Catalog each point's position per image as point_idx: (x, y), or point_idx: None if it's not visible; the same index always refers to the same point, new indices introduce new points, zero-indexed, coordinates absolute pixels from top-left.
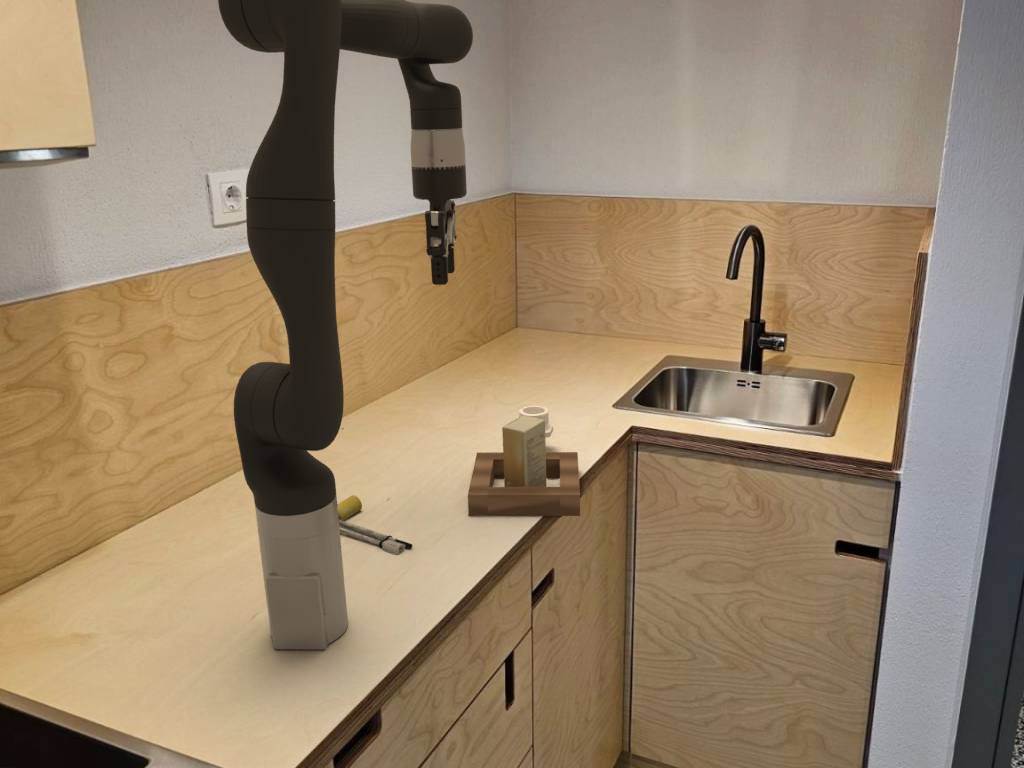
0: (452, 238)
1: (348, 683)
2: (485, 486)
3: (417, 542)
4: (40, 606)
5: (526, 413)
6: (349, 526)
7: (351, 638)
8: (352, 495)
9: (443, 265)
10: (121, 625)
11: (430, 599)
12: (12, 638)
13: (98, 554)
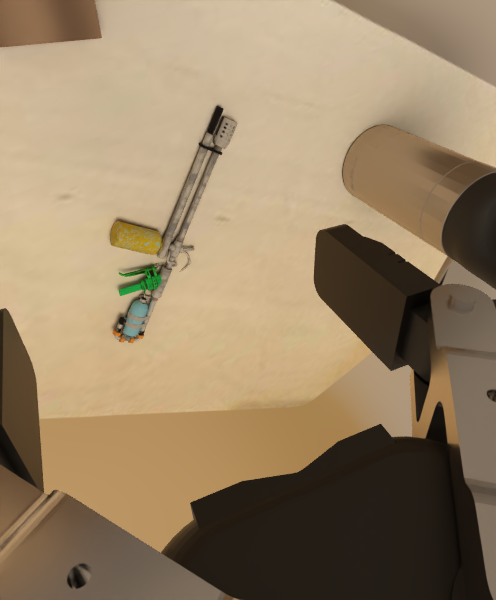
0: (40, 495)
1: (451, 91)
2: (50, 3)
3: (198, 103)
4: (323, 376)
5: None
6: (182, 211)
7: (392, 114)
8: (117, 242)
9: (424, 275)
10: None
11: (335, 42)
12: (358, 361)
13: (249, 399)
